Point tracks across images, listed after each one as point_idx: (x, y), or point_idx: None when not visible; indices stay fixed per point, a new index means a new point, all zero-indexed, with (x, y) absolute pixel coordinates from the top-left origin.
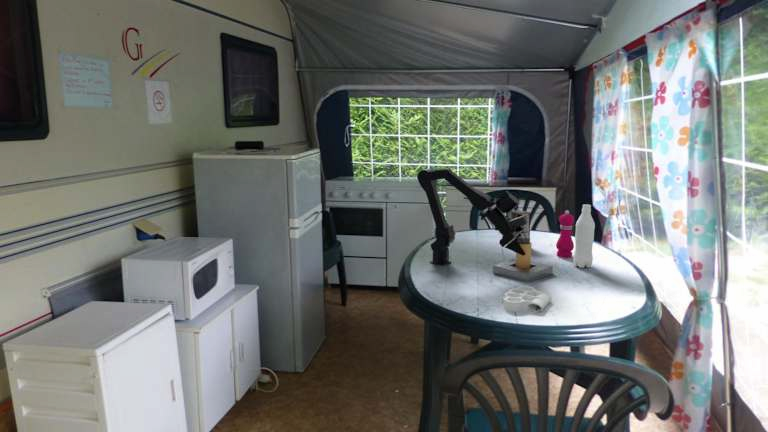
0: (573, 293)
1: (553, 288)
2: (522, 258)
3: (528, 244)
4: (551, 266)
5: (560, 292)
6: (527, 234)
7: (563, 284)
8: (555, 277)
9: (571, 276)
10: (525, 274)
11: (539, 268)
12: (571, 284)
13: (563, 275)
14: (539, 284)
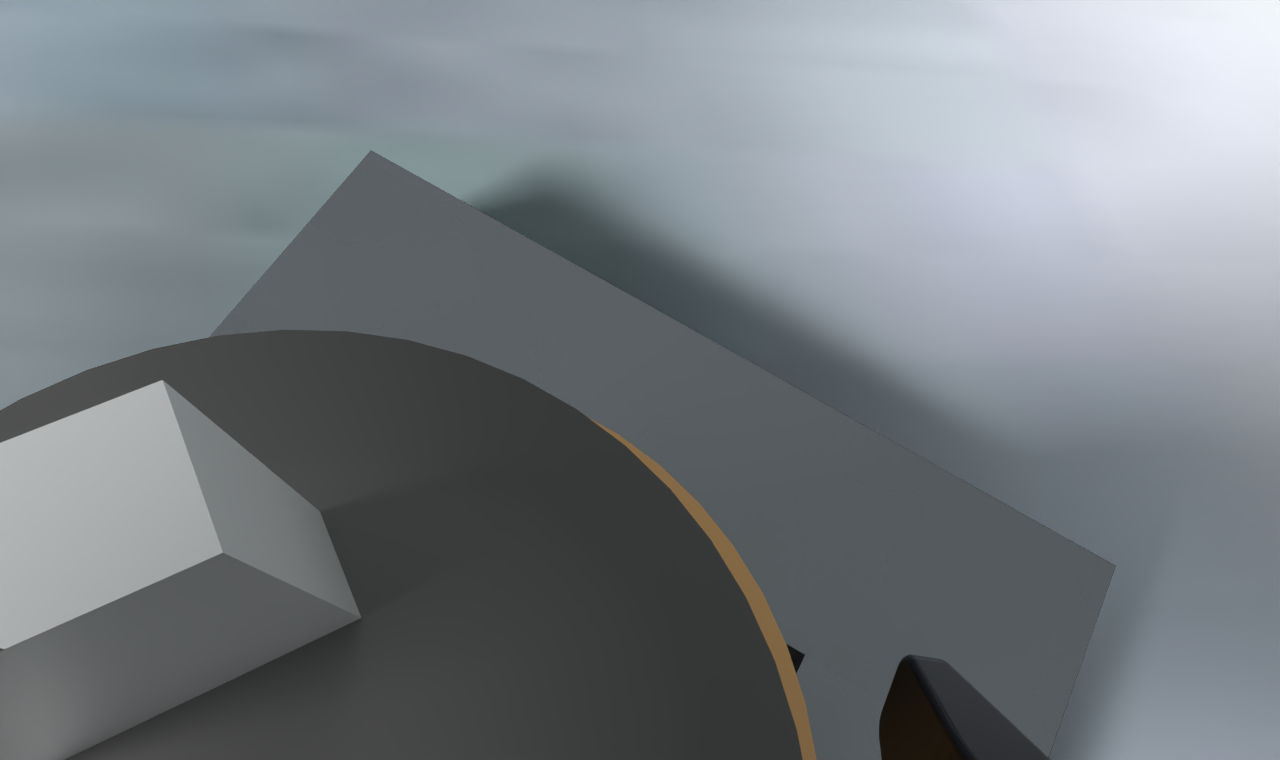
0: (1204, 40)
1: (1136, 240)
2: None
3: (698, 513)
4: (409, 172)
5: (1251, 168)
6: (207, 461)
7: (901, 117)
8: (601, 195)
9: (486, 2)
10: (1077, 646)
11: (619, 379)
12: (859, 31)
13: (462, 90)
14: (1050, 420)
